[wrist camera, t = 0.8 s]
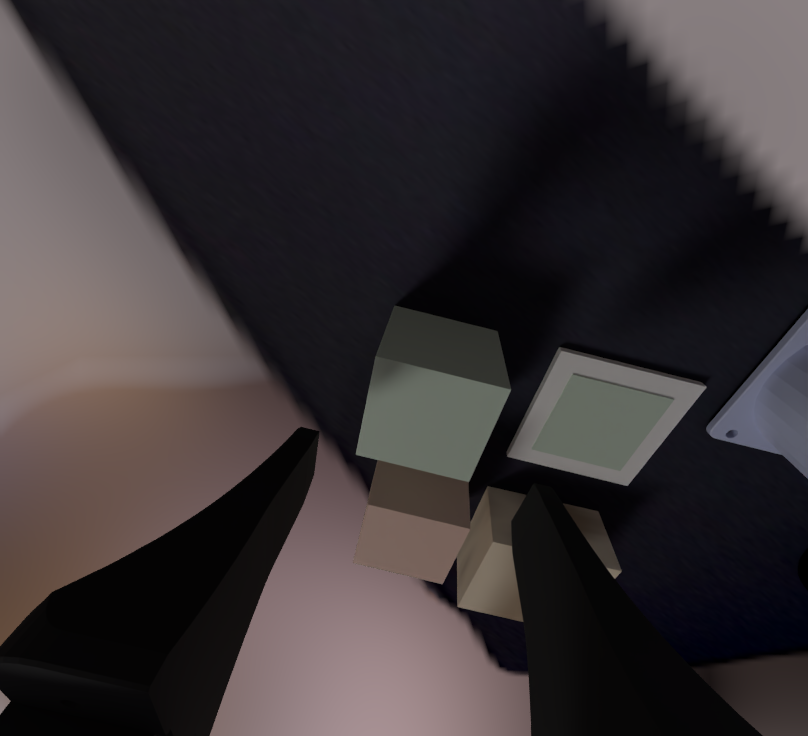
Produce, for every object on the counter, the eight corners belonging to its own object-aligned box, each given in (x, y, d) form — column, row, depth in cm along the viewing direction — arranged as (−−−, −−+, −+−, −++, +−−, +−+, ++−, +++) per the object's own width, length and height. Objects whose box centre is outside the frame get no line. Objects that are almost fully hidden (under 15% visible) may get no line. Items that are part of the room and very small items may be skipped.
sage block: (497, 330, 18) (511, 389, 13) (465, 411, 20) (468, 482, 16) (394, 304, 18) (375, 355, 13) (376, 389, 20) (355, 454, 16)
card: (701, 382, 18) (707, 388, 17) (624, 480, 21) (628, 487, 21) (559, 346, 18) (561, 351, 17) (506, 451, 21) (507, 458, 21)
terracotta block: (467, 454, 22) (470, 529, 18) (444, 507, 24) (442, 584, 20) (384, 434, 22) (367, 504, 18) (370, 489, 24) (352, 562, 20)
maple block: (597, 508, 23) (621, 571, 20) (551, 569, 27) (566, 631, 23) (487, 483, 23) (492, 541, 20) (456, 547, 27) (457, 606, 23)
